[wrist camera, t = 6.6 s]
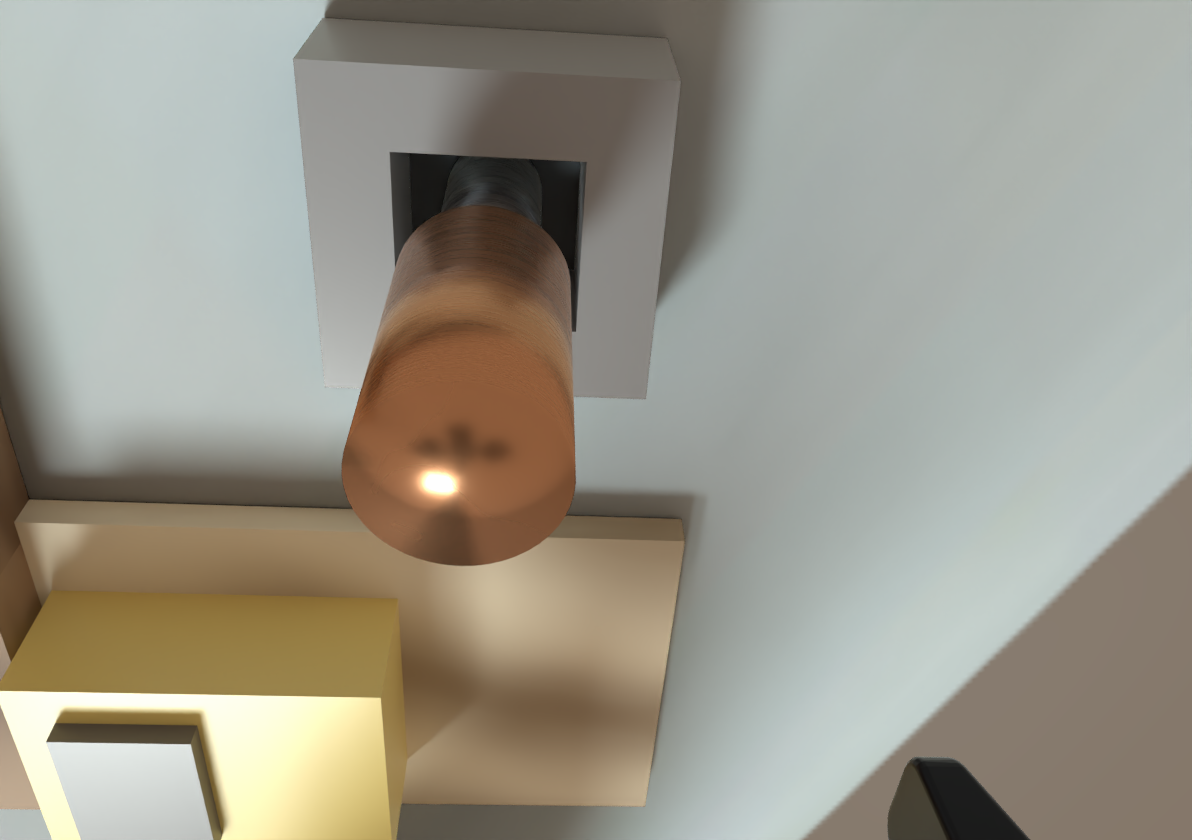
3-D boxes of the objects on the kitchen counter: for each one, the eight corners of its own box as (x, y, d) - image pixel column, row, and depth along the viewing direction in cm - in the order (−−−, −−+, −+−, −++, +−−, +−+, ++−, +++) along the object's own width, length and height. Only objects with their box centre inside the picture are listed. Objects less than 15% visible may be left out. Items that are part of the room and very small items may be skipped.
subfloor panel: (643, 782, 30) (644, 806, 30) (114, 775, 29) (104, 800, 29) (681, 519, 25) (685, 541, 24) (29, 499, 24) (13, 522, 23)
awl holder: (637, 333, 22) (645, 398, 20) (346, 321, 21) (324, 387, 19) (667, 38, 18) (681, 80, 16) (322, 17, 18) (292, 58, 16)
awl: (564, 260, 21) (569, 568, 13) (423, 253, 21) (349, 563, 13) (571, 122, 19) (581, 386, 12) (419, 113, 19) (332, 377, 12)
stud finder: (407, 759, 28) (390, 880, 25) (103, 755, 28) (51, 877, 25) (398, 598, 25) (377, 716, 22) (51, 590, 24) (-16, 709, 21)
